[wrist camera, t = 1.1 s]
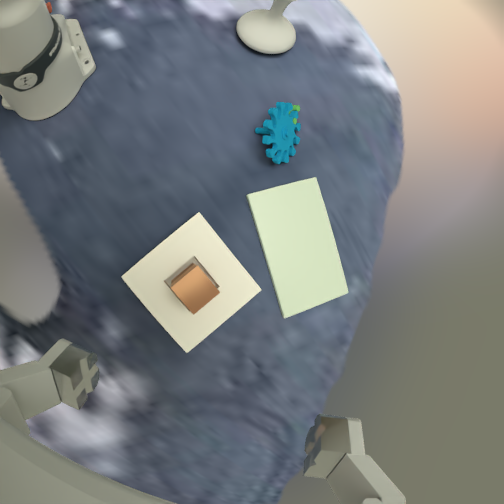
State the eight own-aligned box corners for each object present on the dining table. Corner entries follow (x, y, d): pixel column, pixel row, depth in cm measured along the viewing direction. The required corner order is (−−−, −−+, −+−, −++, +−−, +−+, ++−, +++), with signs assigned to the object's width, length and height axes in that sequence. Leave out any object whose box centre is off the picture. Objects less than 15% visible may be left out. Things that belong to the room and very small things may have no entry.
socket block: (125, 275, 45) (121, 276, 41) (197, 215, 48) (199, 212, 44) (185, 345, 47) (186, 353, 43) (254, 287, 50) (261, 289, 46)
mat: (246, 195, 50) (247, 194, 49) (313, 178, 52) (315, 177, 51) (282, 317, 51) (284, 318, 50) (345, 292, 54) (348, 292, 53)
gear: (284, 177, 50) (262, 132, 41) (254, 172, 53) (228, 129, 45) (311, 130, 52) (294, 85, 44) (282, 127, 56) (262, 85, 47)
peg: (171, 280, 46) (170, 288, 35) (192, 262, 47) (197, 265, 36) (189, 301, 47) (193, 314, 36) (209, 283, 47) (220, 292, 37)
